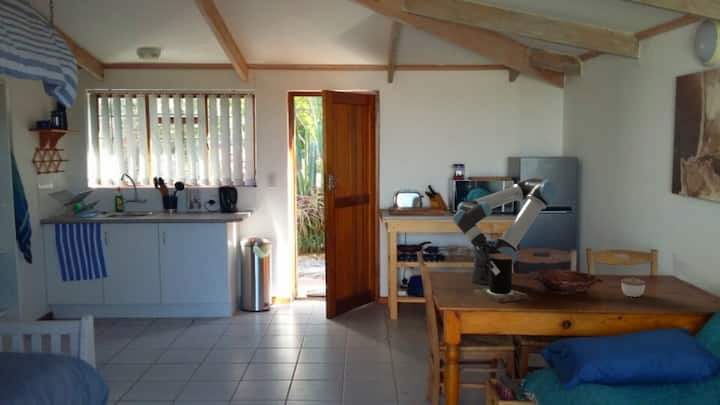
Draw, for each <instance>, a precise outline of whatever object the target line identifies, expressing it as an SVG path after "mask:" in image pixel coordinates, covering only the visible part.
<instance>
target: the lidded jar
mask: <svg viewBox="0 0 720 405" xmlns="http://www.w3.org/2000/svg"><path fill="white" fill-rule="evenodd" d="M645 289H646V281H644V280H641V279H638V278H635V277H634V276H633V277H632V278H623V279H621V290H622V293H623V294H624V295H625V296H626V295H627V296H634V297H636V296H639V297H641V296H642V295H643V293H644V292H645ZM627 296H626V297H627Z"/></svg>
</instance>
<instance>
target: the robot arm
mask: <svg viewBox="0 0 720 405" xmlns="http://www.w3.org/2000/svg"><path fill="white" fill-rule="evenodd" d="M559 196H560V187H559V185H558V183H556V182H555V181H554V180H552V179H551V180H550V179H549V178H545V179H544V178H529V179H526V180H523V181H520V182H516V183H514V184H513V185H512V186H511V187H508V188H504V189H502V190H500V191H497V192H493V193H491V194H488V195H485V196H481V197H479V198H476V199H473V200H470V201H461V202H459V203H458V205H457V212H456V213H455V214H454V215H453V217H452V220H453V222H454V224H455V225H456V226H457V227H458V228H459V230H460V231H461V232H462V233H463V235H464V236H465V238H466V239H467V240H468V241H469V242H470V243H471V245H472V246H473V247H474V257H473V258H474V259H473V260H474V261H473V269H472V272H471V275H470V280H469V281H470V282H472V283H474V284H480V285H489V272H490V269H491V270H492V271H493V272H494V274H495V275H497V274H498V273H499V272H500V271H499V269H498V268H497V267H496V266H495V264H494V263H493V262H492V261H491V262H490V259H491V257H490V255H491V254H508V255H511V256H512V259H511V260H512V266H514V264H515V262H516V258H517V257H516V256H517V251H518V247H517V246H518V245H519V243H520V242H521V240H522V239H523V237H524V236H525V235H526V233H527V232H528V230H529V229H530V227H531V225H532V224H533V222H534V221H535V220H536V218H537V216H538V215H539V213H540V212H541V211H542V210H545V209H546V208H547V207H548V206H549V204H550V203H551V204H552V203H554V202H556V201H558V198H559ZM525 200H526V201H525ZM515 201H518V202H521V201H525V203H524V204H523V206H522V208H520V210H519V212H518V213H517V214H516V215H515V218H514V219H513V221H512V222H511V224H510V225H509V227H508V228H507V229H506V231H505V232H504V234H503V236H501V237H497V239H488V238H487V237H486V235H485V234H484V233H482V230H481V229H480V228H479V227H478V225H477V223H480V222H481V221H482V220H484V219H486V218H487V217H488V216H490V215H491V214H492V212H493V209H495V208H499V207H501V206H504V205H506V204H510V203H514V202H515Z"/></svg>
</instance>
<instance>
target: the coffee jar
mask: <svg viewBox="0 0 720 405" xmlns="http://www.w3.org/2000/svg"><path fill="white" fill-rule="evenodd" d="M490 257H491V259H490V262H491V261H492V262H493V263H494V264H495V266H496V267H497V268H498V269H499V271H500V272H499V273H498V274H497V275H495V274H494V272H493V271H492V270H491V269H490V272H489V284H488V288H489V290H490V292H492V293H495V294H508V293H510V291H511V290H512V278H513V277H512V276H513V265H512V260H511V259H512V256H511V255H508V254H491V255H490Z"/></svg>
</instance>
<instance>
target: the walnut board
mask: <svg viewBox="0 0 720 405" xmlns="http://www.w3.org/2000/svg"><path fill="white" fill-rule="evenodd" d="M473 295H475V296H478V297H480V298H482V299H483V298H484V299H486V300H489V301H492V302H495V303H497V304H498V303H506V302H513V301H519V300H526V299H528V294H527V293H524V292H520V291H517V290H515V289H514V290H513V289H511V291H510V293H508V294H495V293H492V292H490V290H489V287H487V288H478V289H473Z"/></svg>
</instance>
